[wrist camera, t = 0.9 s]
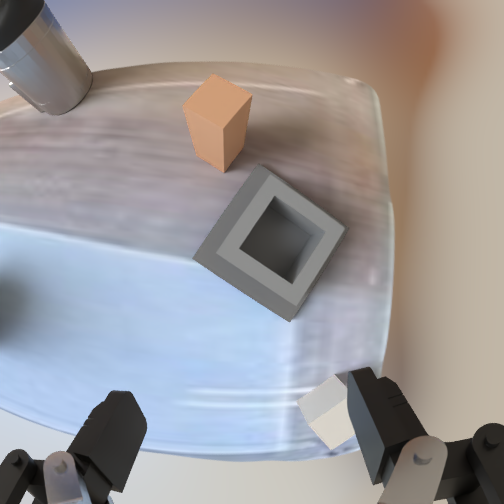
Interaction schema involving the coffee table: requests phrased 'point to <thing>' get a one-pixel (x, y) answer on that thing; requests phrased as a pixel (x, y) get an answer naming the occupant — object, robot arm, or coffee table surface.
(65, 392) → the coffee table surface
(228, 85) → the orange rectangular block
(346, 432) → the white cube
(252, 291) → the well
